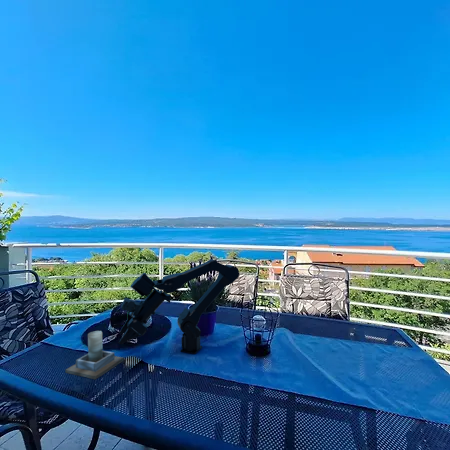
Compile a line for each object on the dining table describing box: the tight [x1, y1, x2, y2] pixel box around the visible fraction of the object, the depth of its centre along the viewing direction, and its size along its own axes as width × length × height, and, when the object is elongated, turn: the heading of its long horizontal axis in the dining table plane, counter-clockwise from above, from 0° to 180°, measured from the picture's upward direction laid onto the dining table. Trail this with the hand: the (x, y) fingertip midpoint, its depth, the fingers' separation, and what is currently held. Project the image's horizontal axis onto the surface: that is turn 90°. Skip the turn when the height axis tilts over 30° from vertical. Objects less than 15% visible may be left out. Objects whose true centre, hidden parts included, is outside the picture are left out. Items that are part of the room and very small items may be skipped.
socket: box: [65, 350, 125, 381], centre depth 95 cm, size 13×13×4 cm
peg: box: [87, 330, 104, 363], centre depth 95 cm, size 4×4×10 cm
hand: (119, 338), depth 98 cm, fingers open, 9 cm apart
